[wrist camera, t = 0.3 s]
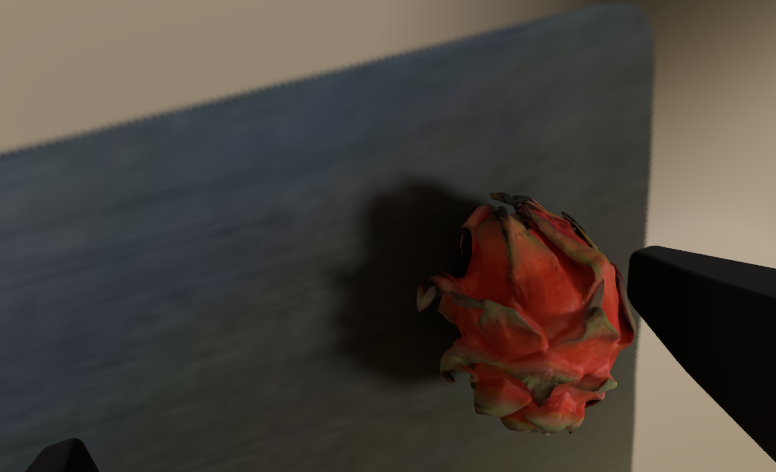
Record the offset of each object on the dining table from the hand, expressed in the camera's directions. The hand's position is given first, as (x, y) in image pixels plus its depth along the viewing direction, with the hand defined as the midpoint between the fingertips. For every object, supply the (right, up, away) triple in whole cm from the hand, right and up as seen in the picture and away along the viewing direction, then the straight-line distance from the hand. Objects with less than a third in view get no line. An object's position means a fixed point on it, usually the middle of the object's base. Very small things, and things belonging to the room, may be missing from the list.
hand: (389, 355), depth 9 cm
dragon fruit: (+5, 0, +20) cm, 20 cm away
